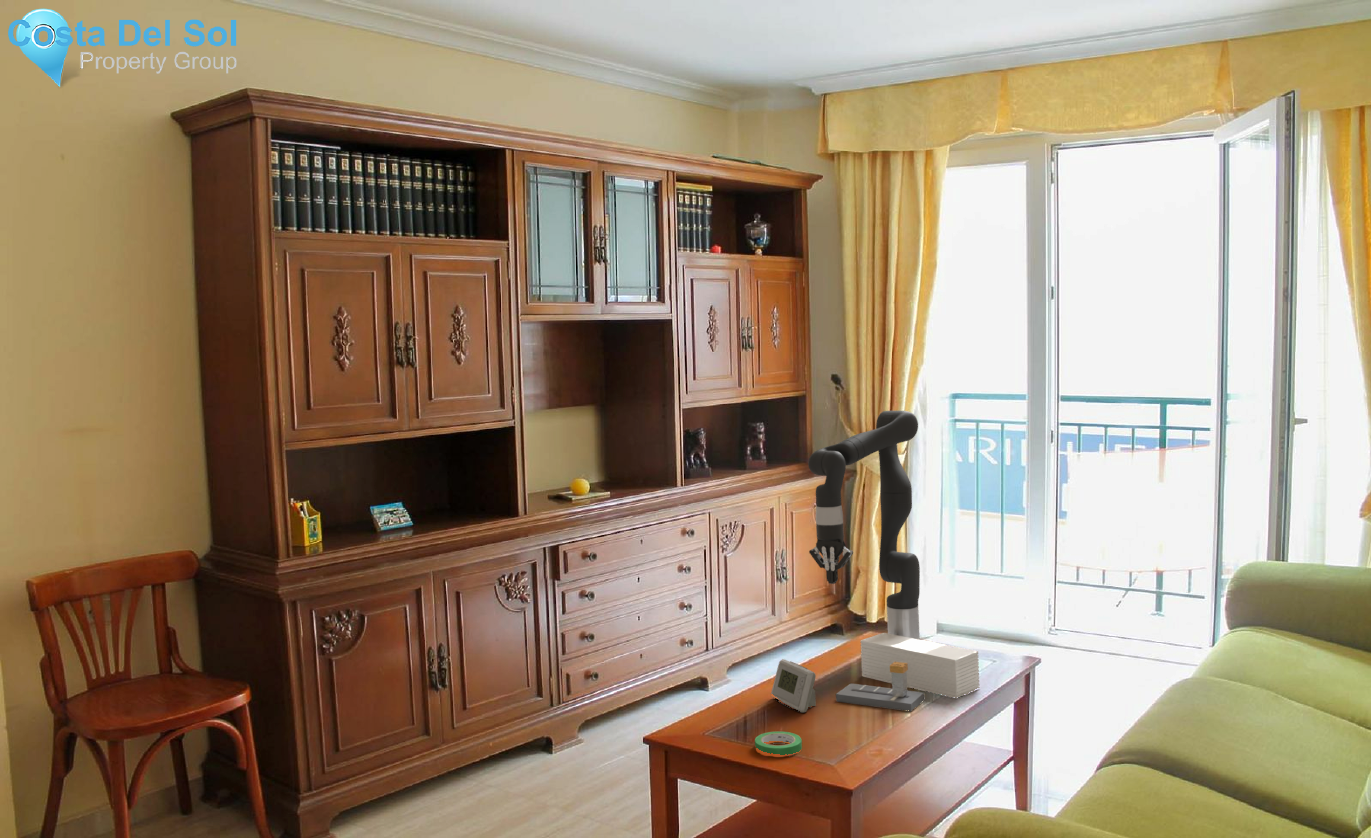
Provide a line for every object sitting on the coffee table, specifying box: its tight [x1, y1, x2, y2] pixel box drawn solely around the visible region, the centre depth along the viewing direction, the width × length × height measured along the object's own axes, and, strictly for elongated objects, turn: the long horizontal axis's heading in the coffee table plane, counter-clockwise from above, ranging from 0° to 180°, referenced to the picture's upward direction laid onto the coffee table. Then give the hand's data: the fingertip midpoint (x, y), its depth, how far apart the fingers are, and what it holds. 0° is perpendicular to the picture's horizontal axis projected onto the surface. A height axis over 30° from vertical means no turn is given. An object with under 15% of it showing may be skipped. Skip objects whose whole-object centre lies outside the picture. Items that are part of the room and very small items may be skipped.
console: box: [835, 683, 926, 712], centre depth 281 cm, size 10×21×2 cm, turn 58°
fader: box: [890, 662, 908, 697], centre depth 278 cm, size 4×4×8 cm
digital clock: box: [770, 658, 817, 714], centre depth 282 cm, size 16×9×11 cm, turn 15°
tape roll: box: [754, 730, 803, 755], centre depth 251 cm, size 11×11×3 cm
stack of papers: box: [860, 632, 980, 699], centre depth 295 cm, size 32×11×11 cm, turn 41°
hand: (832, 583), depth 295 cm, fingers closed
